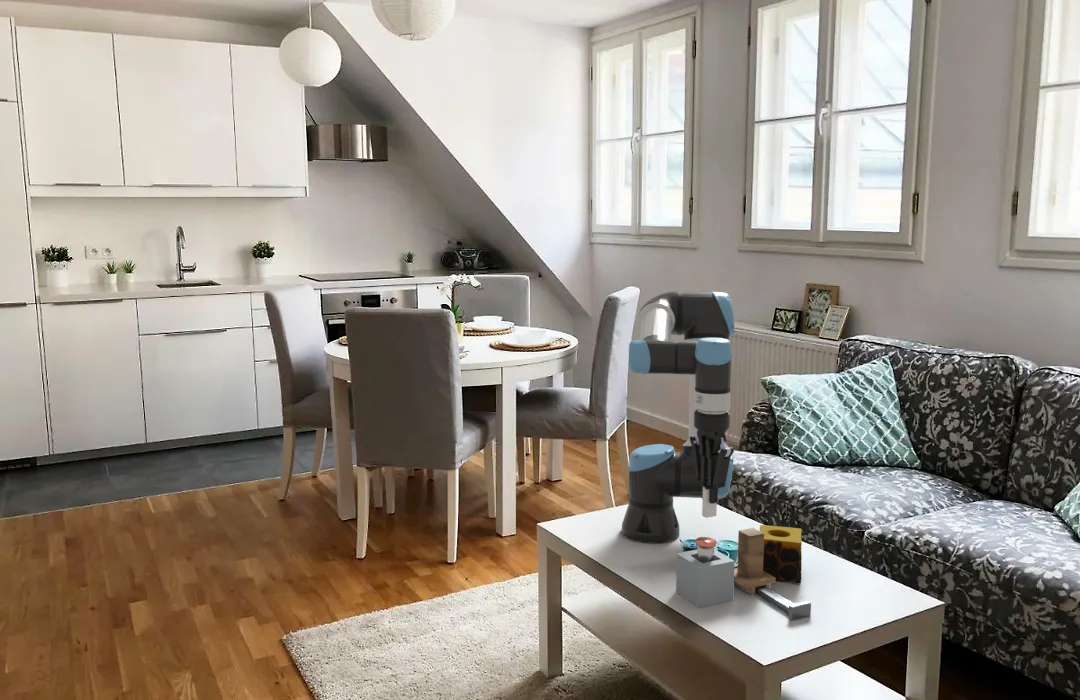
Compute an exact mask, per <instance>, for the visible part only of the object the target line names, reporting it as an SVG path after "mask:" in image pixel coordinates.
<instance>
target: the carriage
mask: <svg viewBox="0 0 1080 700" xmlns="http://www.w3.org/2000/svg"><path fill="white" fill-rule="evenodd" d="M737 534H738V539H737V541H738V542H737V564H738V566H737V568H736V569H734V586H735V585H736V586H737V587H739V588H740V589H742V590H743V591H744V592H747V593H748V594H749V595H751V596H752V595H756V594H755V587H758V586H763V585H764V586H766V587H767V588H769V589H771V584H775V583H776V582H777V581H776V578H775V577H774V576H772V575H770V574H768V573H767V572H765V571H763V555H764V533H762V532H760V530H758V529H756V528H755V527H749V528H745V529H739V530H738V533H737Z"/></svg>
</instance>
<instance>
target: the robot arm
mask: <svg viewBox="0 0 1080 700" xmlns="http://www.w3.org/2000/svg"><path fill="white" fill-rule="evenodd" d="M637 324H638V328H639V329H640V332H639V333H640V334H639V339H638V340H635V339H634V340H631V341H630V342H629V343H628V370H629V371H630V373H633V374H642V375H653V374H654V375H656V374H657V375H689V385H688V387H689V390H688V391H689V394H688V397H689V399H688V438H687V440H686V441H685V442H684V443H683V444H682V451H676V450H675V447H674V446H673V445H670V444H665V443H658V444H657V443H656V444H655V443H654V444H649V445H648V444H647V445H643V446H640V447H637V448H635V449H633V450H632V452H630V455H629V462H628V463H629V464H628V467H627V469H628V471H629V473H628V475H629V476H628V505H627V507H626V511H625V514H624V517H623V520H622V523H621V534H622V536H624V537H625V538H627V539H628V540H630V541H633V542H638V543H644V544H662V543H668V542H673V541H675V540H676V539H678V538H679V536H680V524H679V520H678V516H677V513H676V511H675V508H674V498H693V499H702V506H701V507H702V508H701V510H702V512H701V513H702V514H701V516H702V517H704V518H706V519H708V518H713V517H717V508H718V507H717V506H718V505H717V504H718V499H724V498H726V497H727V496H728V494H729V492H730V489H731V484H732V483H731V482H732V478H733V477H732V476H733V469H734V459H735V457H734V447H732V446H731V447H729V446H728V444H727V437H726V431H727V430H729V428H730V419H731V418H730V417H731V413H730V409H731V378H732V375H731V374H732V359H733V353H732V343H731V341H730V338H731V337H733V336H735V329H736V328H735V316H734V309H733V303H732V299H731V297H730V295H729V293H726V292H721V291H720V292H719V291H712V290H711V291H667V292H664V293H661V294H658V295H656V296H654V297H652V298H650V299H649V300H648V301H646V302H645V303H644V305H642V307H641V308H640V310H639V312H638V316H637ZM672 336H683V338H684V339H683V340H672Z"/></svg>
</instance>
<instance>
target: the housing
mask: <svg viewBox="0 0 1080 700" xmlns="http://www.w3.org/2000/svg"><path fill="white" fill-rule="evenodd" d="M735 564H736V563H735V560H733V559H732V558H731V557H728V556H727V555H725V554H723V553H721V552H720V551H718V550H717V549H715V548H714V561H710V562H705V563H701V562H700V561H698V560H697V549H692V550H688V551H686V550H685V551H683V552H677V553H676V580H675V592H676V593H678V594H679V595H681V596H682V597H683V598H684V599H686V600H687V601H689V602H690V603H692V604H693V605H695V607H697V608H703V607H707V606H713V605H717V604H723V603H727V602H731V601H734V593H735V590H734V589H735V584H734V565H735Z"/></svg>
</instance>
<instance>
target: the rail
mask: <svg viewBox="0 0 1080 700" xmlns="http://www.w3.org/2000/svg"><path fill="white" fill-rule="evenodd" d="M737 566H738V563H735V564H734V569H736V568H737ZM754 595H756V596H758V597H760V598H761V599H763V600H765V601H766V602H768V603H769V604H771V606H772V605H773V606H774V607H775V608H777V609H778V610H780V611H782V612H783V613H785V614H787V615H788V616H787V617H788V620H789V621H797V620H801V619H805V618H808V617H811V615H812V602H811V601H809V600H805V601H802V602H797V603H794V602H793V601H791V600H790V599H788V598H785V597H784V596H782V594H781V595H780V594H779V593H777V592H775V591H774V590H773V589H771V588H770V589H769V588H767V587H766V586H764V585H763V586H758V587H755V594H754Z"/></svg>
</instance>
